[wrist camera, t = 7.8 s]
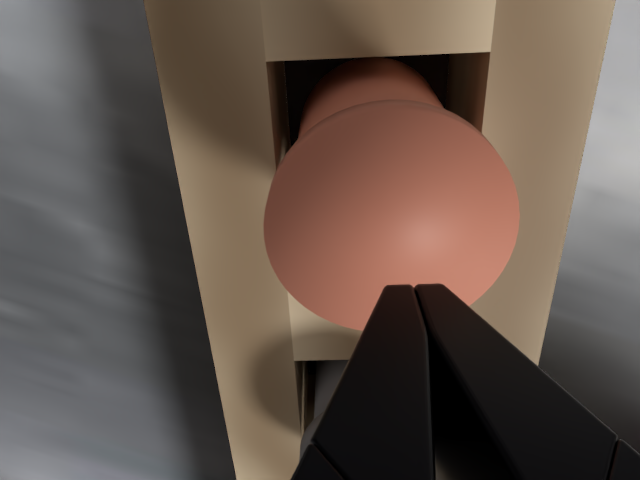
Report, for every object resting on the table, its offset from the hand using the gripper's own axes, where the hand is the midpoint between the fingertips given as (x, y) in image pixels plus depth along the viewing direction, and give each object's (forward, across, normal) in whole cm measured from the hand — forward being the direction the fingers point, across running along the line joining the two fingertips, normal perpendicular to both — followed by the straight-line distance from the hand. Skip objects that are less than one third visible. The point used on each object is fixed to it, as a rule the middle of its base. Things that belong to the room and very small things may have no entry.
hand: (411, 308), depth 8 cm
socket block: (+10, 0, +9) cm, 14 cm away
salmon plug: (+8, 0, 0) cm, 9 cm away
